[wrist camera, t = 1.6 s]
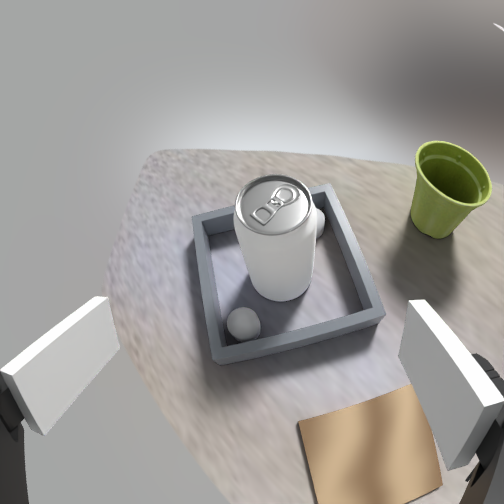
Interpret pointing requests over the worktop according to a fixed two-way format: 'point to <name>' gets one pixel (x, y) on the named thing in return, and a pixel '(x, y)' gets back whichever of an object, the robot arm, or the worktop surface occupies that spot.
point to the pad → (372, 451)
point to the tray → (246, 320)
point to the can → (277, 235)
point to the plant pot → (447, 187)
